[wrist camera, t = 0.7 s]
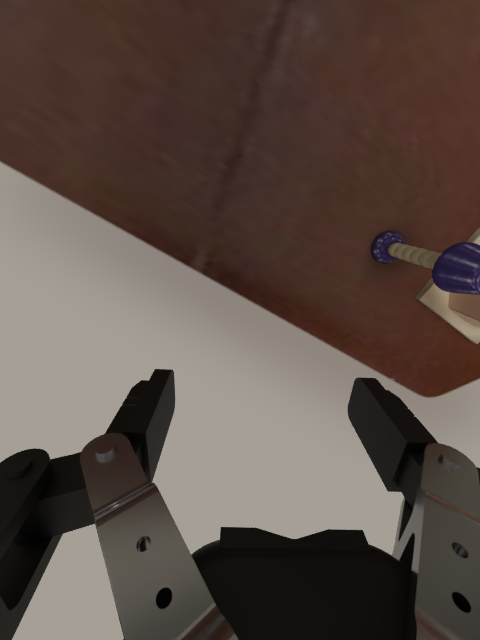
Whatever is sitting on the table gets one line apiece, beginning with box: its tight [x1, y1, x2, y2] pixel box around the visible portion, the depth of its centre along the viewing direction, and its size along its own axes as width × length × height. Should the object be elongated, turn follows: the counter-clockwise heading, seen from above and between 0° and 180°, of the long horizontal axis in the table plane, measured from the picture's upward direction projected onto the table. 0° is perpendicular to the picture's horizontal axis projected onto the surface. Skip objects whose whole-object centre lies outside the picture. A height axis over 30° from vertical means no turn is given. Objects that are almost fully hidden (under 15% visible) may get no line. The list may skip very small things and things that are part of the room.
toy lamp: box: [371, 231, 480, 295], centre depth 29 cm, size 5×5×17 cm
